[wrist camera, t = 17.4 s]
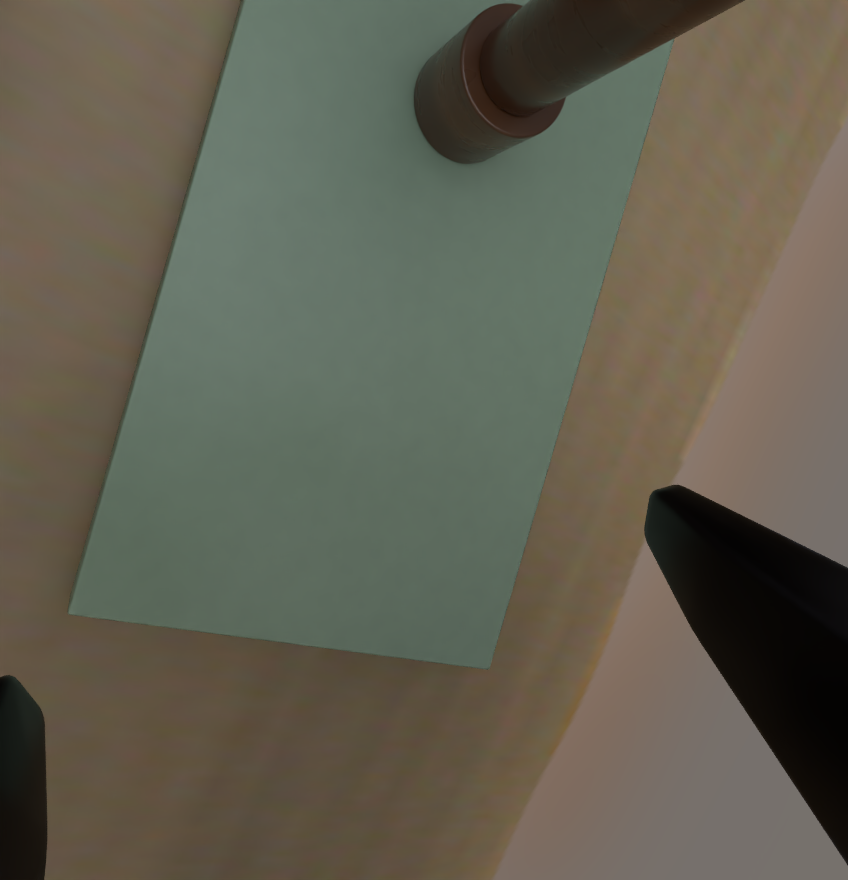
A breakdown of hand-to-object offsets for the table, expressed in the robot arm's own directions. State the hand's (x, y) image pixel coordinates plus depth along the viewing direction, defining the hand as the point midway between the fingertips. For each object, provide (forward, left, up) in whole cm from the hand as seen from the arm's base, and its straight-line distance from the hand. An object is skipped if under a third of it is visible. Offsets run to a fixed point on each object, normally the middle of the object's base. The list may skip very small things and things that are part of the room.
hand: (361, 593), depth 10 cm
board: (+6, -3, -12) cm, 14 cm away
